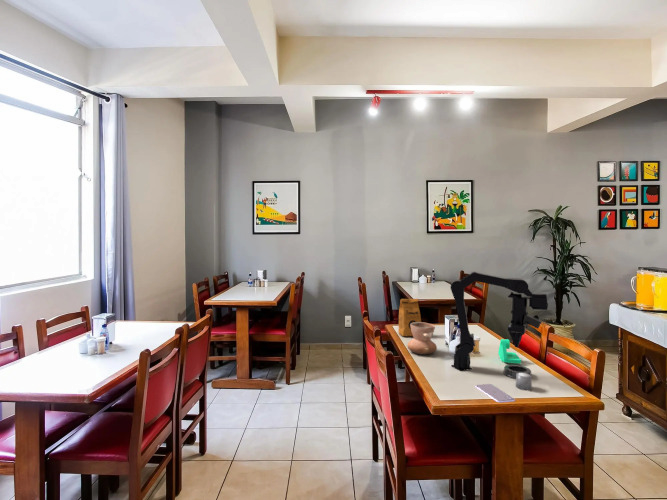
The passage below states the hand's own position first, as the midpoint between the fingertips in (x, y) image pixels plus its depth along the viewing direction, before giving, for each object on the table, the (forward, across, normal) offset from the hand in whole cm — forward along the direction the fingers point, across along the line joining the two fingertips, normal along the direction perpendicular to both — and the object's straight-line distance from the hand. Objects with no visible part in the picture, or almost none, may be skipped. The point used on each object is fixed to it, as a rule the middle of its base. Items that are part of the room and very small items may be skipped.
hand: (517, 344), depth 160 cm
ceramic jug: (+13, +8, +45) cm, 47 cm away
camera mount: (+14, +19, +5) cm, 24 cm away
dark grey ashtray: (+13, 0, 0) cm, 13 cm away
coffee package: (+13, +35, +61) cm, 72 cm away
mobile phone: (+14, -26, +5) cm, 30 cm away
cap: (+13, -14, -4) cm, 19 cm away
